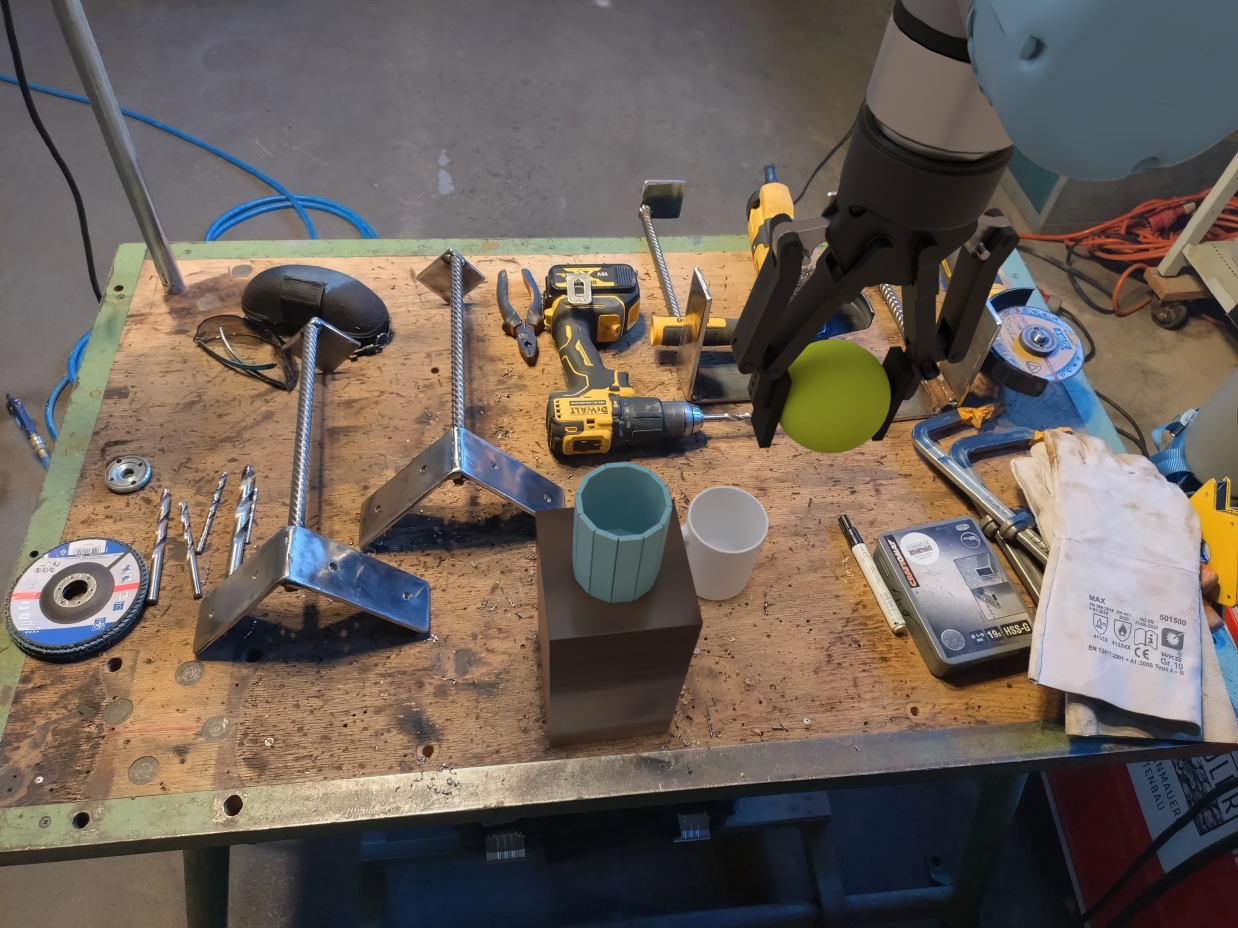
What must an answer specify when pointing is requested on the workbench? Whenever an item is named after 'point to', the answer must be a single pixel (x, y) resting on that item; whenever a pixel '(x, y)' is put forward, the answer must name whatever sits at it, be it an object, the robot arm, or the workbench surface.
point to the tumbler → (620, 530)
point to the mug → (723, 540)
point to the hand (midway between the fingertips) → (816, 429)
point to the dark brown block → (611, 642)
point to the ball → (835, 397)
